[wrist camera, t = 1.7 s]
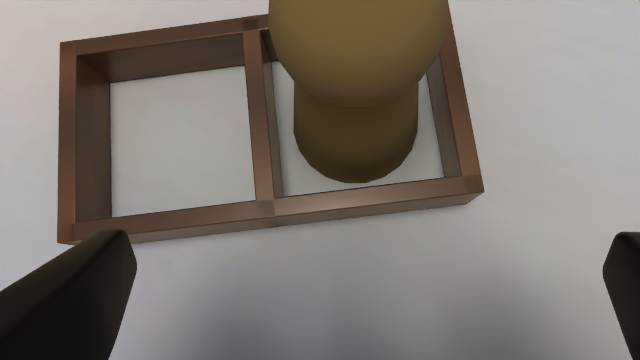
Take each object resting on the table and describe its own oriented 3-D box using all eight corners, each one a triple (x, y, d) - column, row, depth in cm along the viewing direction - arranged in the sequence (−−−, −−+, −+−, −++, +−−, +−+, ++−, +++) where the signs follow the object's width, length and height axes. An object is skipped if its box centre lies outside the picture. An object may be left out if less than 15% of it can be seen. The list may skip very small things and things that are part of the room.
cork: (326, 205, 22) (301, 131, 11) (273, 97, 23) (205, -61, 13) (440, 148, 22) (524, 24, 11) (381, 45, 23) (406, -154, 13)
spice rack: (466, 204, 22) (485, 192, 19) (95, 248, 22) (56, 243, 19) (434, 25, 24) (445, -12, 21) (94, 70, 24) (59, 41, 21)
